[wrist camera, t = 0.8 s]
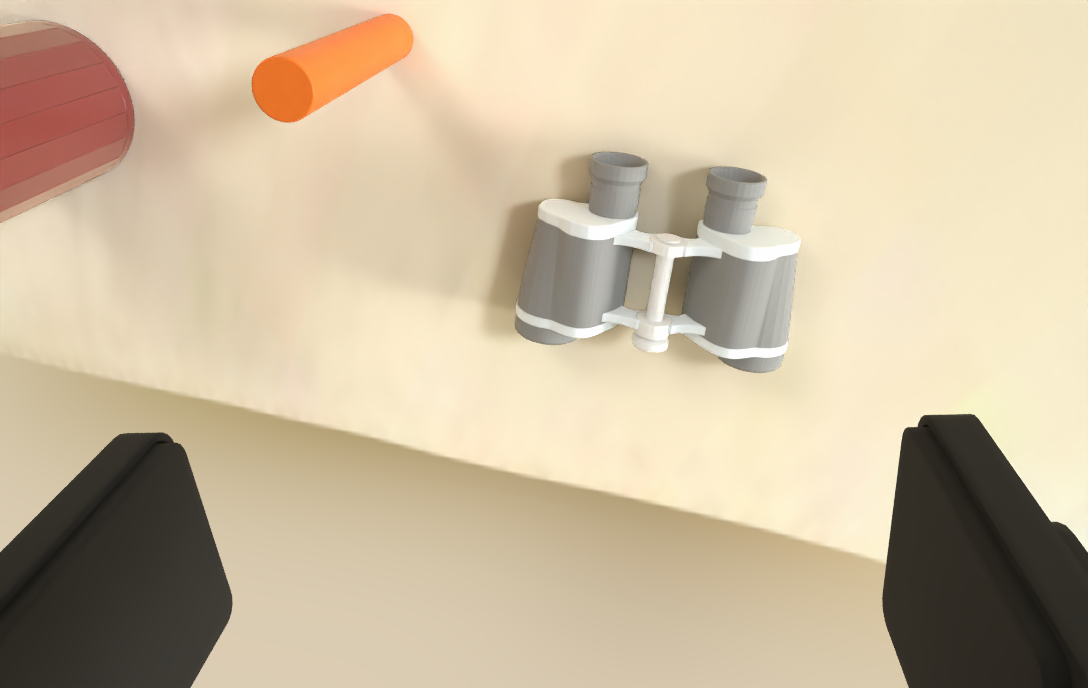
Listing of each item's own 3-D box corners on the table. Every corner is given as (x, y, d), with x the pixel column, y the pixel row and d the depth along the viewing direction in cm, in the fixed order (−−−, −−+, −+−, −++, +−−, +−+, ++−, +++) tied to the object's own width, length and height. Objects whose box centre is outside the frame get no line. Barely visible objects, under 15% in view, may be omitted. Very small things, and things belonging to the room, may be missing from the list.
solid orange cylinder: (372, 8, 34) (252, 49, 23) (416, 19, 34) (317, 65, 23) (367, 54, 34) (249, 114, 24) (409, 65, 34) (311, 129, 24)
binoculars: (518, 312, 39) (508, 346, 36) (535, 140, 35) (525, 162, 32) (776, 347, 39) (789, 384, 35) (820, 177, 35) (839, 202, 32)
